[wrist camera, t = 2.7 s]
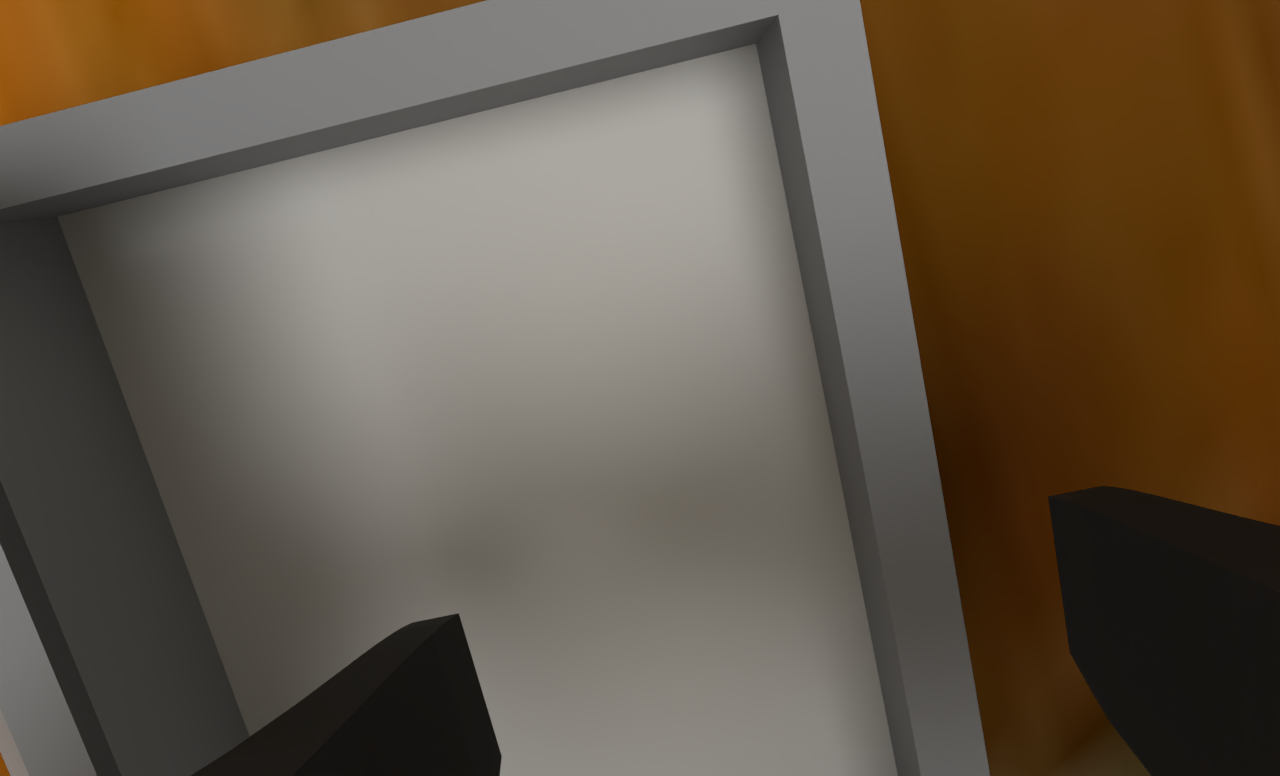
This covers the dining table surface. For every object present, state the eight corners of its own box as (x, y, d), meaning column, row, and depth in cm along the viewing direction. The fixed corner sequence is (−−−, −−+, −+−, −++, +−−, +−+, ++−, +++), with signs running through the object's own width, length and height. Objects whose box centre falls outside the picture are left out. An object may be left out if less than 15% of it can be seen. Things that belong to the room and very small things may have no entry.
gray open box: (801, -32, 15) (843, -92, 12) (953, 810, 19) (1024, 980, 15) (4, 170, 17) (-199, 177, 13) (290, 925, 20) (199, 1108, 16)
